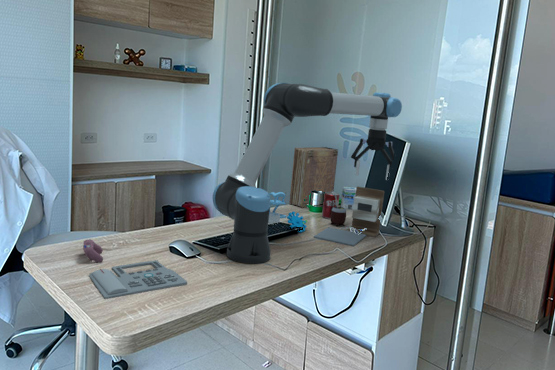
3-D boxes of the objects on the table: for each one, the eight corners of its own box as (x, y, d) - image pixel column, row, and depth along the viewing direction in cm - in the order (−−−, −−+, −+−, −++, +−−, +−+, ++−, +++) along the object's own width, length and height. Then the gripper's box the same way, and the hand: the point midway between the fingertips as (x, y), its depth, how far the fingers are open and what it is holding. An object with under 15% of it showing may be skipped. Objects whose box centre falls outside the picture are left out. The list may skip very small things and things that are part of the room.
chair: (276, 213, 228) (278, 189, 226) (286, 217, 221) (288, 192, 219) (263, 214, 223) (265, 189, 221) (273, 218, 217) (275, 193, 214)
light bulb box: (342, 209, 250) (345, 188, 248) (340, 206, 256) (342, 186, 254) (362, 210, 251) (365, 190, 249) (359, 207, 257) (361, 187, 255)
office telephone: (105, 292, 122) (83, 266, 137) (105, 302, 122) (83, 275, 138) (188, 277, 135) (160, 255, 151) (187, 286, 136) (159, 263, 152)
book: (302, 208, 242) (307, 150, 237) (288, 204, 249) (294, 147, 243) (332, 203, 261) (338, 149, 255) (319, 199, 267) (324, 147, 261)
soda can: (319, 215, 231) (322, 191, 229) (333, 215, 233) (335, 191, 231) (325, 219, 224) (328, 194, 222) (339, 219, 226) (342, 195, 224)
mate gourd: (344, 227, 212) (348, 195, 210) (327, 225, 214) (330, 193, 211) (345, 223, 220) (348, 192, 217) (328, 221, 221) (331, 190, 218)
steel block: (274, 224, 207) (275, 216, 207) (264, 222, 209) (265, 213, 209) (279, 222, 212) (280, 213, 211) (269, 220, 214) (270, 211, 213)
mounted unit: (374, 237, 201) (380, 193, 198) (347, 231, 206) (352, 188, 203) (379, 233, 208) (384, 190, 205) (353, 228, 213) (358, 186, 210)
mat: (353, 246, 186) (353, 245, 186) (313, 237, 193) (313, 236, 193) (366, 236, 202) (366, 234, 202) (328, 228, 209) (328, 227, 209)
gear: (293, 230, 194) (285, 210, 199) (285, 237, 198) (277, 217, 202) (312, 231, 201) (304, 211, 206) (303, 238, 205) (296, 218, 210)
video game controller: (90, 257, 154) (80, 239, 152) (103, 250, 155) (93, 232, 153) (90, 268, 145) (79, 249, 143) (104, 261, 146) (93, 242, 144)
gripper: (408, 131, 203) (401, 180, 207) (352, 125, 213) (347, 172, 217) (405, 132, 196) (398, 182, 200) (347, 126, 207) (342, 174, 211)
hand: (371, 177), depth 209 cm, fingers open, 13 cm apart
